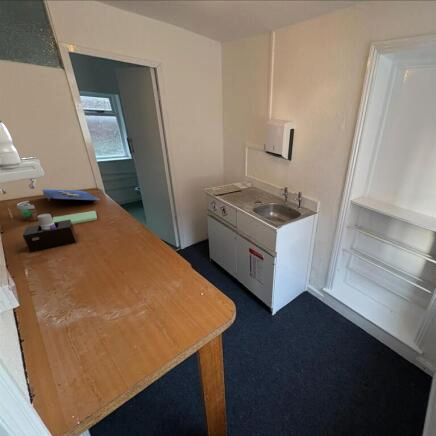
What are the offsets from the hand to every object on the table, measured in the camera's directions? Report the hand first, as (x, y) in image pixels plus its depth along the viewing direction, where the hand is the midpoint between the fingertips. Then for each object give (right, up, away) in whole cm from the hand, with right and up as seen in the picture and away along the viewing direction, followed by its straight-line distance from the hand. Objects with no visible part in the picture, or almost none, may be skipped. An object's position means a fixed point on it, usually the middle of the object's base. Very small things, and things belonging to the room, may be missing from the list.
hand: (18, 190), depth 102 cm
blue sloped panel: (-42, -4, +68) cm, 80 cm away
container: (+2, -25, +14) cm, 29 cm away
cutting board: (-12, -13, +40) cm, 43 cm away
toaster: (+2, -25, +14) cm, 28 cm away
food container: (-37, -13, +37) cm, 54 cm away
